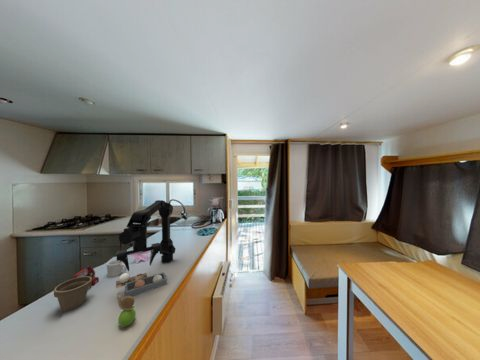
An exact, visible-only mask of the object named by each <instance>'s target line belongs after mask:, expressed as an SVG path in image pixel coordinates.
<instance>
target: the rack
mask: <svg viewBox="0 0 480 360" xmlns="http://www.w3.org/2000/svg"><path fill="white" fill-rule="evenodd" d="M146 277H148V275H147V272H144V273H139V274H137V275H133V276H131V277H129V280H128V281H127V282H125V283H121V282H120V281H119V280H116V281H115V289H118V288H122V287H125V284H126V283H129V282H133V281H136V280H139V279H143V278H146Z"/></svg>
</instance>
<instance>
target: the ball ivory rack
mask: <svg viewBox="0 0 480 360" xmlns="http://www.w3.org/2000/svg"><path fill="white" fill-rule="evenodd" d="M129 278H130V274H129V273H127V272H123V273H121V274H120V276H119V278H118V281H120V282H121V283H125V282H127V281H128V280H129Z"/></svg>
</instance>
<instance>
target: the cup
mask: <svg viewBox="0 0 480 360" xmlns="http://www.w3.org/2000/svg"><path fill="white" fill-rule="evenodd" d="M106 271H107V277H108V278H116V277H118V276H119V275H120V276H121V275H122V274H123V273H126V272H127V271H128V270H127V268H126V265H125V264H124V263H123V262H120V260H119V261H117V258H115V259H112V260H109V261H108V262H107V263H106Z"/></svg>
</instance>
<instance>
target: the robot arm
mask: <svg viewBox="0 0 480 360" xmlns="http://www.w3.org/2000/svg"><path fill="white" fill-rule="evenodd" d="M173 210H174V206H173V205H172V204H171V203H168V202H167V201H165V200H164V199H163V200H160V199H159V200H155V201H154V202H152V203H151V204H150V205H148V207H145V208H143V209H140V210H137V211H134V212H133V213H132V215H131V216H130V219H129V221H128V223H127V225H126V228H123V231H122V232H121V233H120V234H119V236H118V240H119V243H121V245H129V246H128V247H129V248H130V247H132V250H128V249H126V248H125V249H120V250H117V251H116V259H117V261H119V260H120V262H123V263H124V264H125V265H126V268H127V270H126V271H127V272H130V266H129V265H130V264H129V256H130V255H132V254H137V253H141V252H146V251H151V252H150V254H149V256H150V257H149V266H150V267H151V266H152V263H153V261H154V259H155V257H156V255H157V254H159V255H161V256H160V257H161V258H160V262H161V264H165V263H166V264H168V263H171V262H172V261H173V262H174V254H175V253H176V247H175V246H174V241H173V240H172V238H171V215H172V214H173ZM157 212H158V215H159V217H160V218H161V241H160V242H157V243H151V245H150V246H148V244H147V243H148V241H147V240H148V237H147V235H148V227H149V226H150V224H149V221H150V220H151V219H152V216H153V215H154V214H156V213H157Z"/></svg>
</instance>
